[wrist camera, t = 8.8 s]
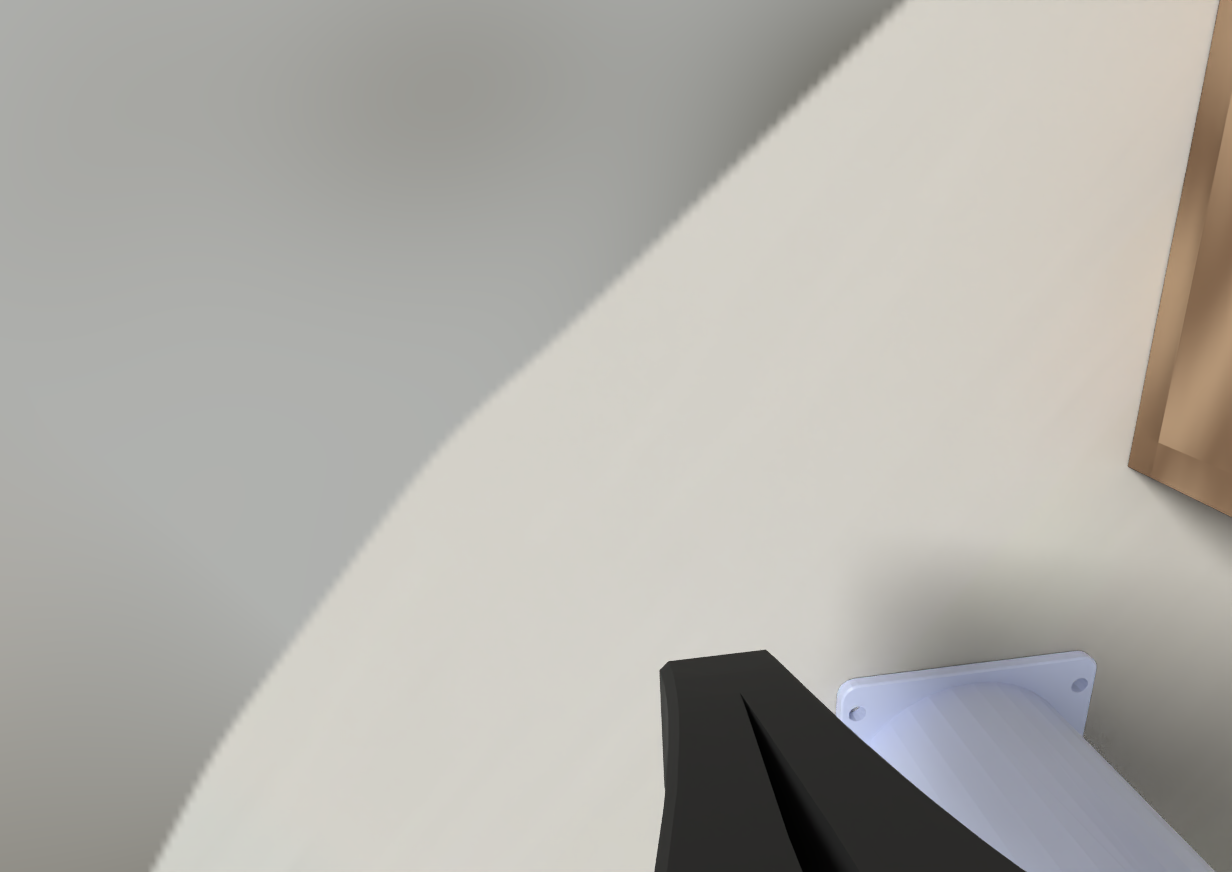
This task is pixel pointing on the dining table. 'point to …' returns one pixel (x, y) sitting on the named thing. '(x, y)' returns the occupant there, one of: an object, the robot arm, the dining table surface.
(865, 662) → the dining table surface
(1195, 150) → the walnut box
